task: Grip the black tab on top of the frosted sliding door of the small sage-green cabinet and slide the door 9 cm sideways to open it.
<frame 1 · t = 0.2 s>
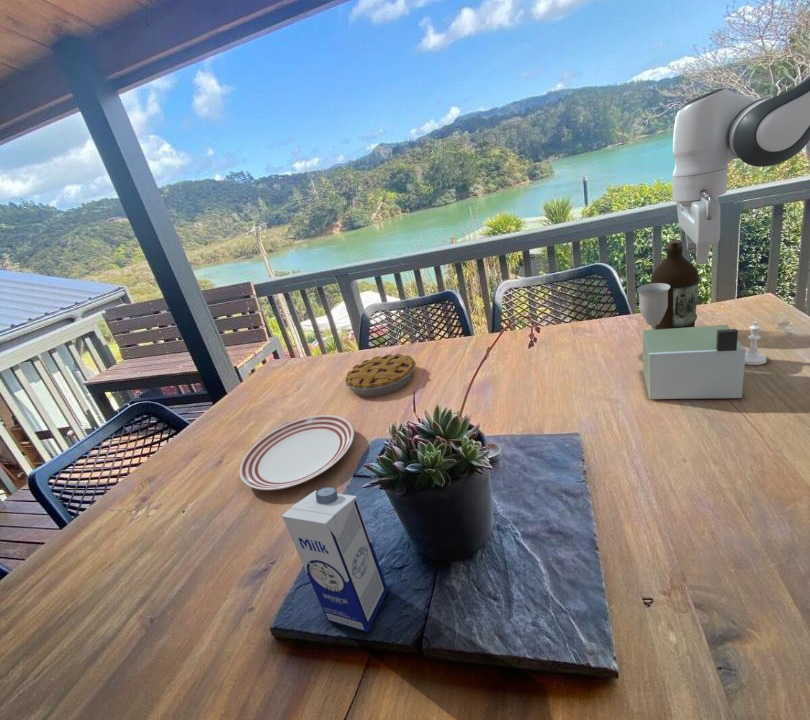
hand: (696, 257, 90), 26 cm above the table, tool pointing down, fingers open, 8 cm apart
milk carton: (358, 605, 64), on the table
chess piece: (752, 360, 98), on the table
dinner plate: (301, 458, 103), on the table
pie: (383, 381, 133), on the table
chalice: (653, 357, 109), on the table
sliding door: (694, 366, 87), point 8 cm above the table, slide at 0.0 cm
dark brown necked cylinder: (673, 335, 117), on the table
cabinet: (687, 383, 95), on the table
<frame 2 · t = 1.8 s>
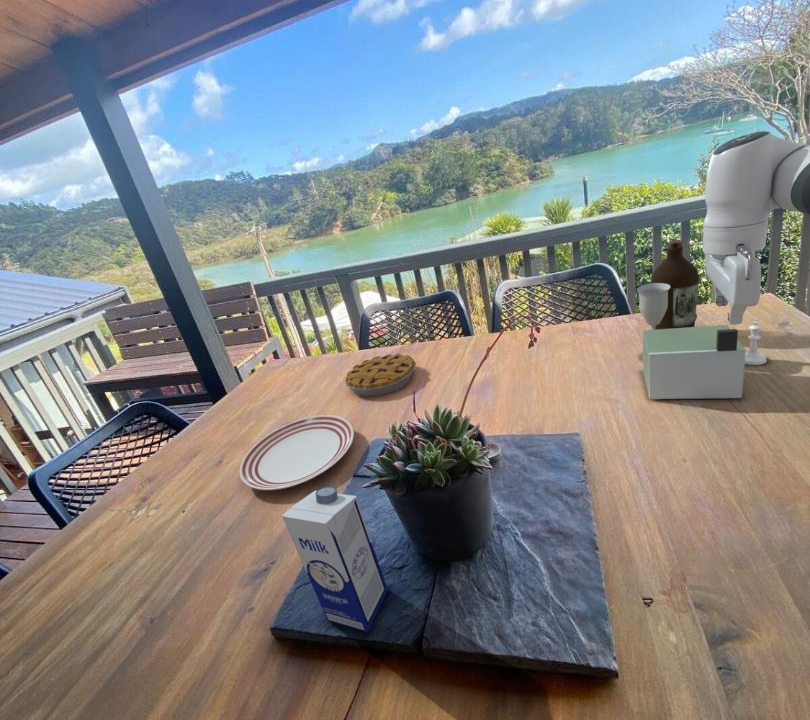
hand: (727, 313, 81), 18 cm above the table, tool pointing down, fingers open, 8 cm apart
nothing on the table moved.
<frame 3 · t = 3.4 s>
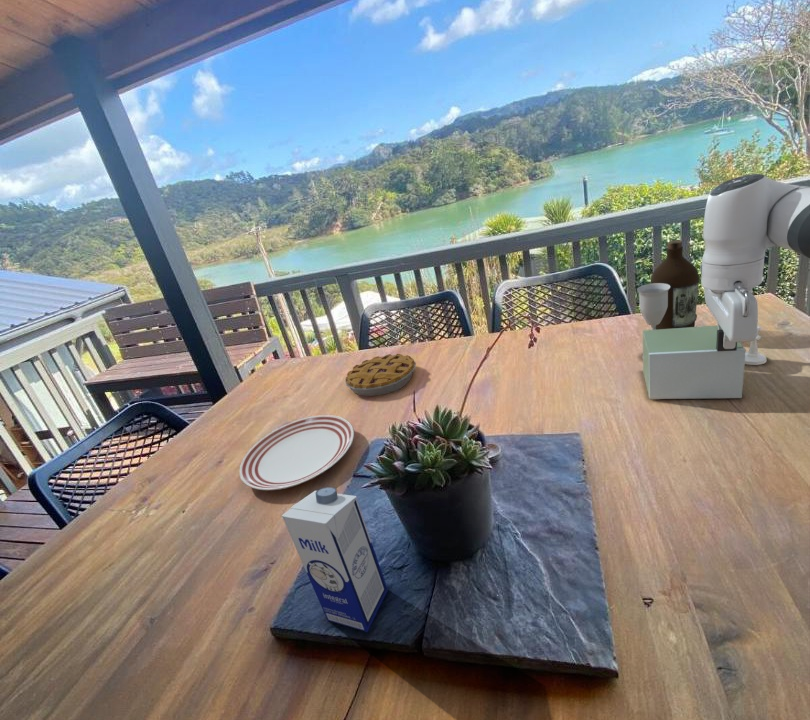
hand: (726, 344, 83), 12 cm above the table, tool pointing down, fingers closed on sliding door
sliding door: (694, 366, 87), point 8 cm above the table, slide at 0.0 cm, touching gripper
everything else where it was.
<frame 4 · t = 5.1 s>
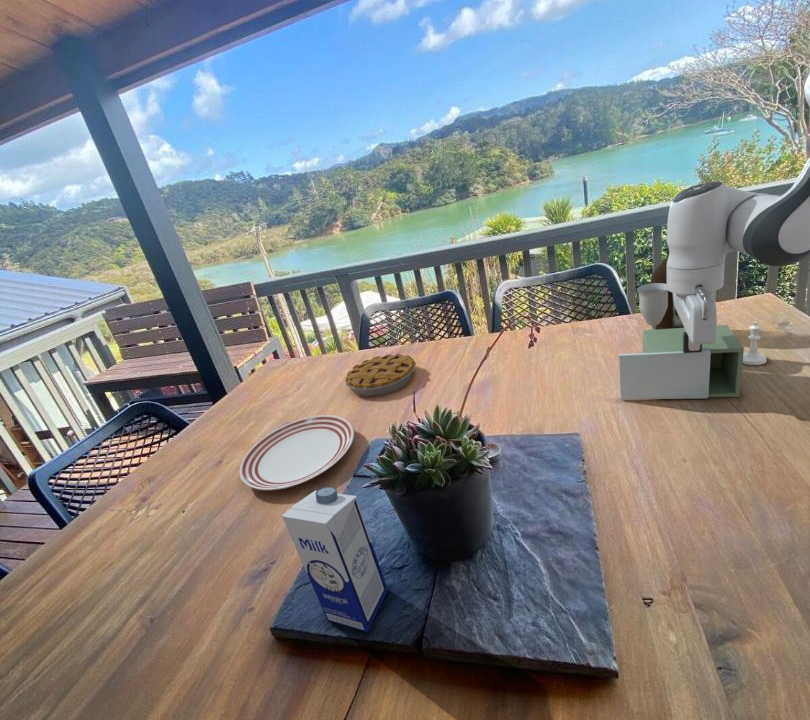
hand: (692, 346, 85), 12 cm above the table, tool pointing down, fingers closed on sliding door
sliding door: (662, 367, 89), point 8 cm above the table, slide at 5.5 cm, touching gripper
everything else where it was.
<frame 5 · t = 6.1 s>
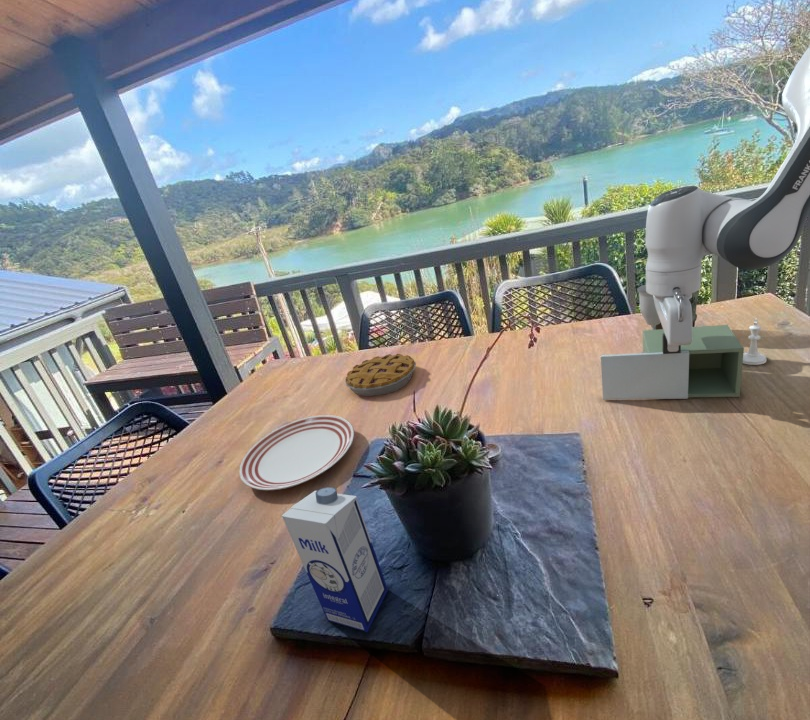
hand: (671, 347, 87), 12 cm above the table, tool pointing down, fingers closed on sliding door
sliding door: (643, 368, 90), point 8 cm above the table, slide at 9.0 cm, touching gripper
everything else where it was.
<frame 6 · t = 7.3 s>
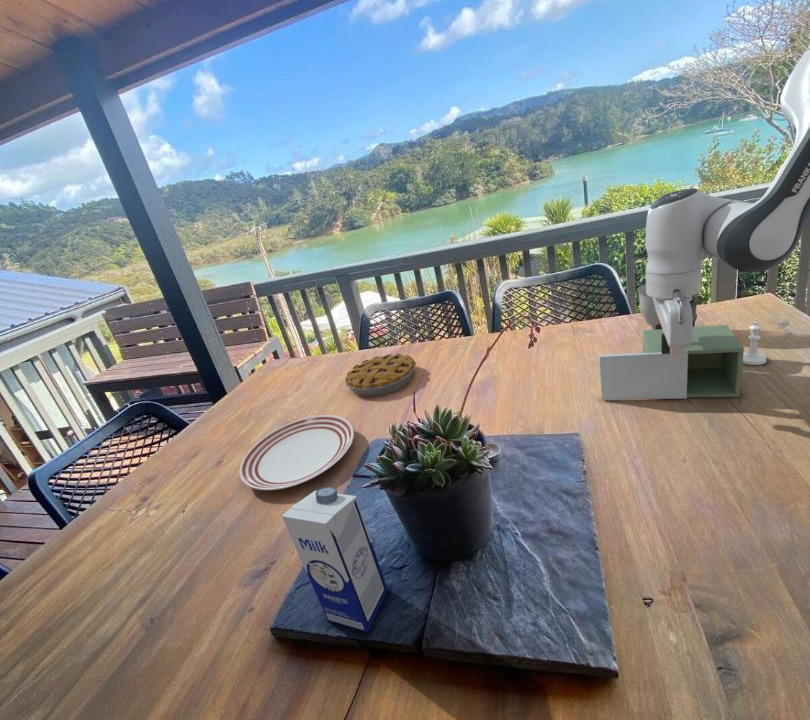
hand: (671, 349, 87), 12 cm above the table, tool pointing down, fingers open, 8 cm apart
sliding door: (642, 368, 91), point 8 cm above the table, slide at 9.3 cm
everything else where it was.
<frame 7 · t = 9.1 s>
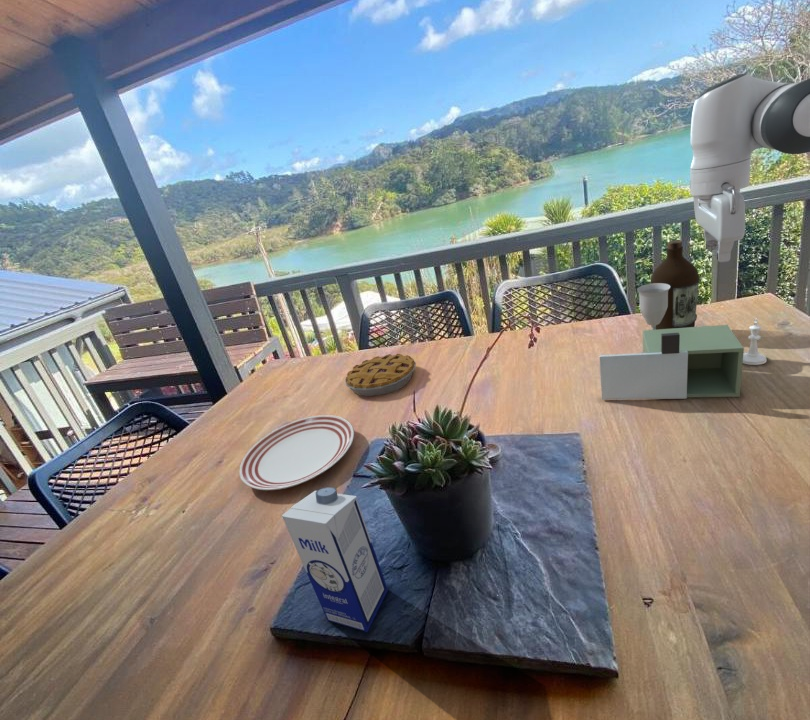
hand: (717, 255, 85), 27 cm above the table, tool pointing down, fingers open, 8 cm apart
nothing on the table moved.
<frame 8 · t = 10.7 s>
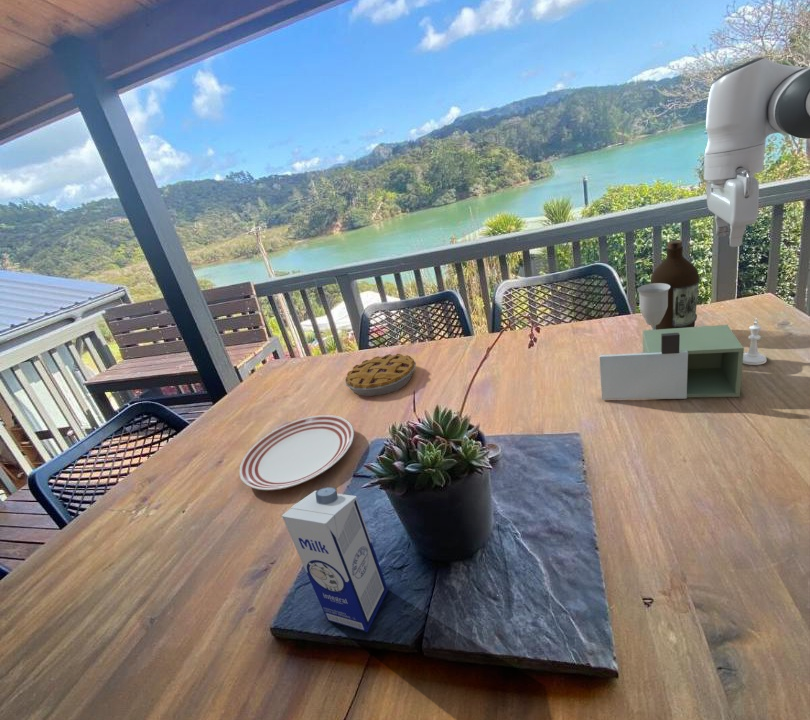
hand: (728, 240, 85), 29 cm above the table, tool pointing down, fingers open, 8 cm apart
nothing on the table moved.
at the end: sliding door slide at 9.3 cm; the gripper is holding nothing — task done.
